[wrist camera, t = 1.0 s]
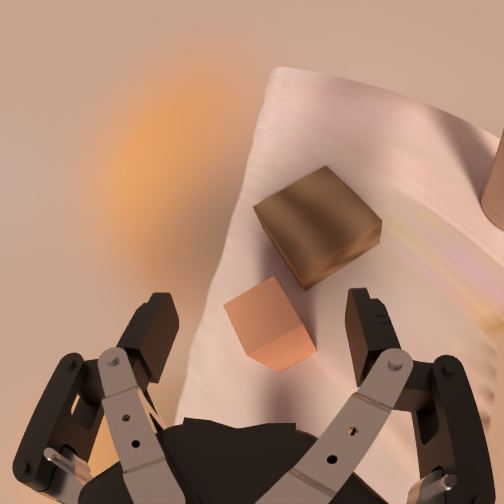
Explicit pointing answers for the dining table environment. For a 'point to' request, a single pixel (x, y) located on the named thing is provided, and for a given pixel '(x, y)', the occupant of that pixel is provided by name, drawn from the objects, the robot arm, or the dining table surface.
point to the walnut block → (318, 225)
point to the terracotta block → (269, 326)
